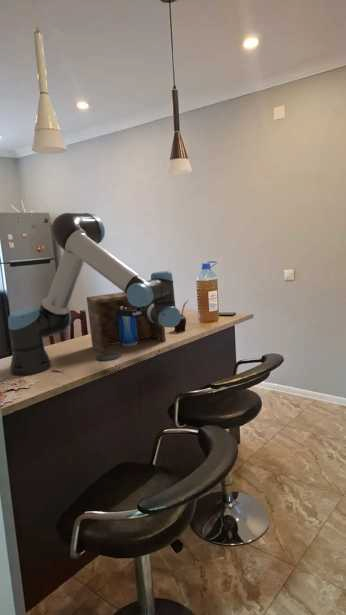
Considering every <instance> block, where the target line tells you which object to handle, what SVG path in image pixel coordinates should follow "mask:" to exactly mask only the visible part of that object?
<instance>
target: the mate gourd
mask: <svg viewBox="0 0 346 615" xmlns="http://www.w3.org/2000/svg"><path fill="white" fill-rule="evenodd" d="M188 302H189V299H187V301H186V302H184V303H183V305H182V311H181V313H180V314H181V319H180V322H179V323H178V325H176V326H175V327H173V328H174V330H173V331H176V333H180V332H186V324H187V318H186V316H185V315H184V314H183V313H184V310H185V307H186V304H187V303H188Z"/></svg>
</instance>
